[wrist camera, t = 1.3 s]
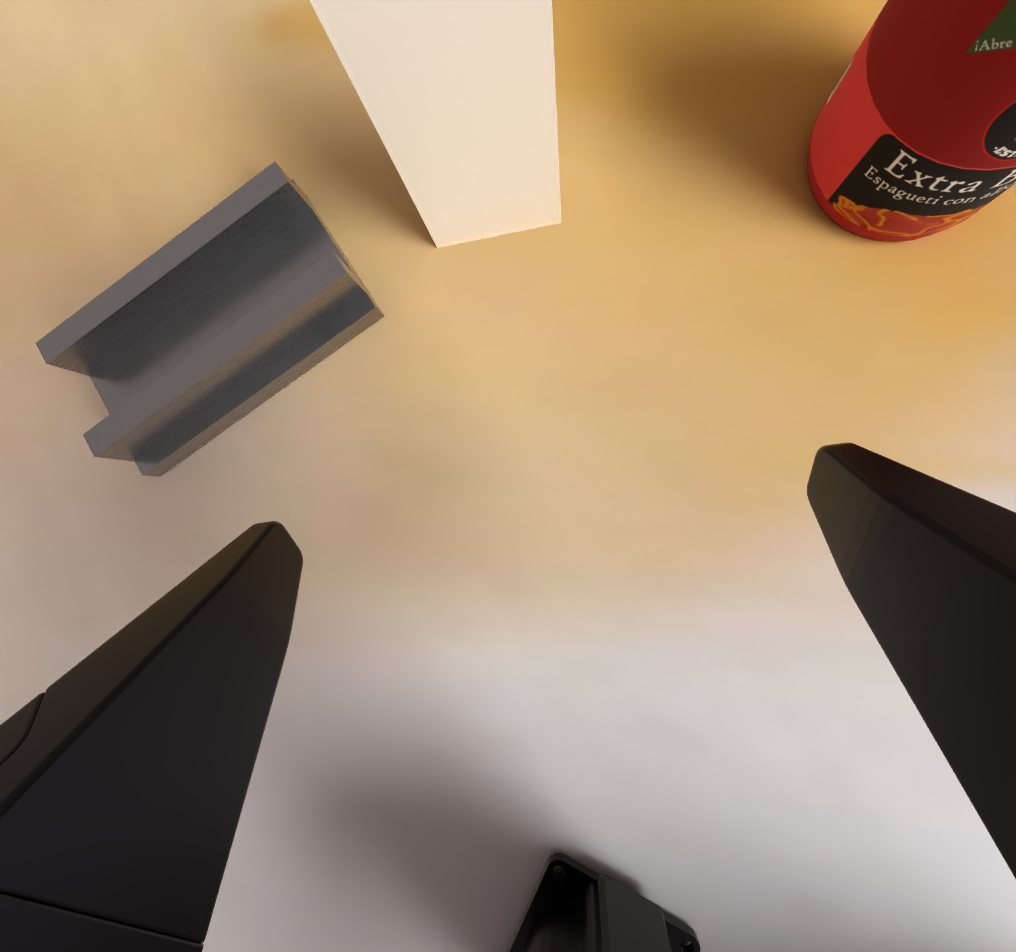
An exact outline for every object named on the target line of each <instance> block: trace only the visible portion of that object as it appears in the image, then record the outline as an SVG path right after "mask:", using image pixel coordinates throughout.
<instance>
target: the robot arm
mask: <svg viewBox="0 0 1016 952" xmlns="http://www.w3.org/2000/svg"><path fill="white" fill-rule="evenodd" d="M807 496H808V499H809V502H810V505H811V507H812V509H813V512H814V514H815V516H816V519H817V521H818V523H819V525H820V528H821V530H822V532H823V535H824V537H825V539H826V542H827V544H828V546H829V549H830V551H831V553H832V556H833V558H834V560H835V563H836V565H837V567H838V570H839V572H840V574H841V576H842V578H843V580H844V582H845V584H846V586H847V588H848V590H849V592H850V594H851V595H852V597H853V599H854V601H855V603H856V604H857V606H858V608H859V609H860V611H861V613H862V615H863V616H864V618H865V620H866V621H867V623H868V625H869V627H870V628H871V630H872V632H873V634H874V635H875V637H876V639H877V640H878V642H879V644H880V646H881V647H882V649H883V651H884V653H885V654H886V656H887V658H888V659H889V661H890V663H891V665H892V666H893V668H894V670H895V672H896V673H897V675H898V677H899V678H900V680H901V682H902V684H903V685H904V687H905V689H906V690H907V692H908V694H909V696H910V697H911V699H912V701H913V703H914V704H915V706H916V708H917V709H918V711H919V713H920V715H921V716H922V718H923V720H924V722H925V723H926V725H927V727H928V728H929V730H930V732H931V734H932V735H933V737H934V739H935V741H936V742H937V744H938V746H939V747H940V749H941V751H942V753H943V754H944V756H945V758H946V759H947V761H948V763H949V765H950V766H951V768H952V770H953V772H954V773H955V775H956V777H957V778H958V780H959V782H960V784H961V785H962V787H963V789H964V791H965V792H966V794H967V796H968V797H969V799H970V801H971V803H972V804H973V806H974V808H975V810H976V811H977V813H978V815H979V816H980V818H981V820H982V822H983V823H984V825H985V827H986V828H987V830H988V832H989V834H990V835H991V837H992V839H993V841H994V842H995V844H996V846H997V847H998V849H999V851H1000V853H1001V854H1002V856H1003V858H1004V860H1005V861H1006V863H1007V865H1008V866H1009V868H1010V870H1011V872H1012V873H1013V875H1014V877H1015V879H1016V513H1015V512H1013V511H1011V510H1008V509H1006V508H1004V507H1001V506H999V505H996V504H994V503H992V502H989V501H987V500H985V499H982V498H980V497H978V496H975V495H973V494H971V493H968V492H966V491H964V490H961V489H959V488H957V487H954V486H952V485H950V484H947V483H945V482H942V481H940V480H938V479H935V478H933V477H931V476H928V475H926V474H924V473H921V472H919V471H917V470H914V469H912V468H910V467H907V466H905V465H903V464H900V463H898V462H896V461H893V460H891V459H888V458H886V457H884V456H881V455H879V454H877V453H874V452H872V451H870V450H867V449H865V448H863V447H860V446H858V445H856V444H853V443H840V444H833V445H825V446H823V447H821V448H820V449H819V450H818V451H817V453H816V456H815V459H814V463H813V466H812V470H811V474H810V477H809V481H808V485H807ZM302 566H303V558H302V553H301V551H300V549H299V548H298V546H297V545H296V543H295V542H294V540H293V539H292V537H291V536H290V534H289V533H288V532H287V530H286V529H285V527H284V526H283V525H282V524H281V523H279V522H276V521H271V522H264V523H258V524H255V525H253V526H251V527H250V528H249V529H247V530H246V531H245V532H244V533H242V534H241V535H240V536H239V537H237V538H236V539H235V540H233V541H232V542H231V543H230V544H228V545H227V546H226V547H225V548H223V549H222V550H221V551H220V552H218V553H217V554H216V555H215V556H213V557H212V558H211V559H210V560H208V561H207V562H206V563H205V564H203V565H202V566H201V567H199V568H198V569H197V570H196V571H194V572H193V573H192V574H191V575H189V576H188V577H187V578H186V579H184V580H183V581H182V582H181V583H179V584H178V585H177V586H176V587H174V588H173V589H172V590H170V591H169V592H168V593H167V594H165V595H164V596H163V597H162V598H160V599H159V600H158V601H157V602H155V603H154V604H153V605H152V606H150V607H149V608H148V609H147V610H145V611H144V612H143V613H141V614H140V615H139V616H138V617H136V618H135V619H134V620H133V621H131V622H130V623H129V624H128V625H126V626H125V627H124V628H123V629H121V630H120V631H119V632H118V633H116V634H115V635H114V636H113V637H111V638H110V639H109V640H107V641H106V642H105V643H104V644H102V645H101V646H100V647H99V648H97V649H96V650H95V651H94V652H92V653H91V654H90V655H89V656H87V657H86V658H85V659H84V660H82V661H81V662H80V663H78V664H77V665H76V666H75V667H73V668H72V669H71V670H70V671H68V672H67V673H66V674H65V675H63V676H62V677H61V678H60V679H58V680H57V681H56V682H55V683H53V684H52V685H51V686H50V687H48V688H47V690H46V692H45V693H41V694H39V695H38V696H37V697H35V698H34V699H33V700H32V701H30V702H29V703H28V704H27V705H25V706H24V707H23V708H22V709H20V710H19V711H18V712H17V713H15V714H14V715H13V716H12V717H10V718H9V719H8V720H6V721H5V722H4V723H2V724H1V725H0V952H202V950H203V942H204V940H205V938H206V934H207V931H208V927H209V924H210V920H211V917H212V913H213V909H214V906H215V902H216V899H217V895H218V892H219V888H220V885H221V881H222V878H223V874H224V871H225V867H226V864H227V860H228V857H229V853H230V849H231V846H232V842H233V839H234V835H235V832H236V828H237V825H238V821H239V818H240V814H241V811H242V807H243V804H244V800H245V797H246V793H247V789H248V786H249V782H250V779H251V775H252V772H253V768H254V765H255V761H256V758H257V754H258V751H259V747H260V744H261V740H262V737H263V733H264V729H265V726H266V722H267V719H268V715H269V712H270V708H271V705H272V701H273V698H274V694H275V691H276V687H277V684H278V680H279V676H280V673H281V669H282V666H283V662H284V659H285V655H286V651H287V648H288V644H289V639H290V634H291V629H292V624H293V618H294V612H295V606H296V601H297V595H298V589H299V583H300V577H301V571H302ZM556 866H561V867H562V868H563V869H564V871H562V872H558V871H556V870H555V869H554V868H555V867H556ZM686 940H687V941H690V942H691V943H690V944H689V945H682V944H681V943H682V942H683V941H686ZM507 952H700V945H699V941H698V938H697V935H696V933H695V931H694V930H693V929H692V928H690V927H689V926H687V925H685V924H684V923H682V922H680V921H679V920H677V919H675V918H673V917H672V916H670V915H668V914H666V913H665V912H663V911H662V910H661V908H660V907H659V906H658V905H656V904H654V903H652V902H651V901H649V900H647V899H645V898H644V897H642V896H640V895H638V894H637V893H635V892H633V891H632V890H630V889H628V888H626V887H625V886H623V885H621V884H619V883H618V882H616V881H614V880H612V879H611V878H609V877H607V876H601V875H599V874H597V873H595V872H594V871H592V870H590V869H588V868H587V867H585V866H583V865H582V864H580V863H578V862H576V861H575V860H573V859H571V858H569V857H568V856H566V855H564V854H561V853H555V854H553V855H551V856H550V858H549V859H548V861H547V863H546V866H545V868H544V870H543V872H542V874H541V877H540V879H539V881H538V883H537V886H536V888H535V890H534V892H533V894H532V897H531V899H530V901H529V903H528V906H527V908H526V910H525V912H524V914H523V917H522V919H521V921H520V923H519V926H518V928H517V930H516V932H515V934H514V937H513V939H512V941H511V943H510V946H509V948H508V950H507Z"/></svg>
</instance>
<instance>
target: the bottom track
mask: <svg viewBox="0 0 1016 952" xmlns="http://www.w3.org/2000/svg"><path fill="white" fill-rule="evenodd" d="M383 316H384V315H383V313H382V312H381V310H380V309H379V307H378V306H377V304H376V303H375V301H374V300H373V298H372V296H371V295H370V293H369V292H368V290H367V289H366V287H365V286H364V284H363V283H362V281H361V280H360V278H359V276H358V275H357V273H356V272H355V270H354V269H353V267H352V266H351V264H350V263H349V261H348V259H347V258H346V256H345V255H344V253H343V252H342V250H341V249H340V247H339V246H338V244H337V243H336V241H335V239H334V238H333V236H332V235H331V233H330V232H329V230H328V229H327V227H326V226H325V224H324V223H323V221H322V219H321V218H320V216H319V215H318V213H317V212H316V210H315V209H314V207H313V206H312V204H311V202H310V201H309V199H308V198H307V196H306V195H305V193H304V192H303V191H302V190H301V188H300V187H299V186H298V185H297V184H296V182H295V181H294V180H293V179H292V180H291V179H290V178H289V177H288V176H287V175H286V174H285V172H284V171H283V170H282V169H281V168H280V167H279V165H278V164H277V163H276V162H274V163H272V164H271V165H270V166H268V167H267V168H266V169H264V170H263V171H262V172H261V173H259V174H258V175H257V176H255V177H254V178H253V179H251V180H250V181H249V182H247V183H246V184H245V185H243V186H242V187H241V188H239V189H238V190H237V191H235V192H234V193H233V194H232V195H230V196H229V197H228V198H226V199H225V200H224V201H222V202H221V203H220V204H218V205H217V206H216V207H214V208H213V209H212V210H210V211H209V212H208V213H207V214H205V215H204V216H203V217H201V218H200V219H199V220H197V221H196V222H195V223H193V224H192V225H191V226H189V227H188V228H187V229H185V230H184V231H183V232H181V233H180V234H179V235H178V236H176V237H175V238H174V239H172V240H171V241H170V242H168V243H167V244H166V245H164V246H163V247H162V248H160V249H159V250H158V251H156V252H155V253H154V254H152V255H151V256H150V257H149V258H147V259H146V260H145V261H143V262H142V263H141V264H139V265H138V266H137V267H135V268H134V269H133V270H131V271H130V272H129V273H127V274H126V275H125V276H124V277H122V278H121V279H120V280H118V281H117V282H116V283H114V284H113V285H112V286H110V287H109V288H108V289H106V290H105V291H104V292H102V293H101V294H100V295H98V296H97V297H96V298H95V299H93V300H92V301H91V302H89V303H88V304H87V305H85V306H84V307H83V308H81V309H80V310H79V311H77V312H76V313H75V314H73V315H72V316H71V317H69V318H68V319H67V320H66V321H64V322H63V323H62V324H60V325H59V326H58V327H56V328H55V329H54V330H52V331H51V332H50V333H48V334H47V335H46V336H44V337H43V338H42V339H41V340H39V341H38V342H37V343H36V345H37V347H38V348H39V350H40V352H41V354H42V356H43V358H44V360H45V362H46V364H49V365H53V366H56V367H60V368H63V369H67V370H71V371H74V372H78V373H81V374H85V375H88V376H90V377H91V379H92V381H93V383H94V385H95V387H96V389H97V390H98V392H99V394H100V396H101V398H102V400H103V402H104V404H105V406H106V407H107V409H108V411H109V413H110V415H109V416H108V417H106V418H105V419H104V420H102V421H101V422H100V423H98V424H97V425H95V426H94V427H93V428H91V429H90V430H89V431H87V432H86V433H85V434H83V436H84V437H85V439H86V441H87V443H88V445H89V447H90V449H91V451H92V453H93V455H94V457H102V458H111V459H120V460H128V461H135V462H136V464H137V466H138V468H139V470H140V472H141V473H142V475H150V476H161V475H162V474H164V473H165V472H167V471H168V470H169V469H171V468H172V467H174V466H175V465H176V464H178V463H179V462H181V461H182V460H183V459H185V458H186V457H188V456H189V455H190V454H192V453H193V452H195V451H196V450H197V449H199V448H200V447H202V446H203V445H204V444H206V443H207V442H209V441H210V440H211V439H213V438H214V437H216V436H217V435H218V434H220V433H221V432H223V431H224V430H225V429H227V428H228V427H230V426H231V425H232V424H234V423H235V422H237V421H238V420H239V419H241V418H242V417H244V416H245V415H246V414H248V413H249V412H251V411H252V410H253V409H255V408H256V407H258V406H259V405H260V404H262V403H263V402H265V401H266V400H267V399H269V398H270V397H272V396H273V395H274V394H276V393H277V392H279V391H280V390H281V389H283V388H284V387H286V386H287V385H288V384H290V383H291V382H293V381H294V380H295V379H297V378H298V377H300V376H301V375H302V374H304V373H305V372H307V371H308V370H309V369H311V368H312V367H314V366H315V365H316V364H318V363H319V362H321V361H322V360H323V359H325V358H326V357H328V356H329V355H330V354H332V353H333V352H334V351H336V350H337V349H339V348H340V347H341V346H343V345H344V344H346V343H347V342H348V341H350V340H351V339H353V338H354V337H355V336H357V335H358V334H360V333H361V332H362V331H364V330H365V329H367V328H368V327H369V326H371V325H372V324H374V323H375V322H376V321H378V320H379V319H381V318H382V317H383Z"/></svg>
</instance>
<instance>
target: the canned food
mask: <svg viewBox="0 0 1016 952" xmlns="http://www.w3.org/2000/svg"><path fill="white" fill-rule="evenodd" d="M807 165H808V178H809V181H810V185H811V188H812V192H813V193H814V195H815V197H816V199H817V201H818V203H819V205H820V206H821V207H822V209H823V210H824V211H825V212H826V213H827V214H828V216H829V217H830V218H831V219H833V220H834V221H835V222H836V223H838V224H839V225H840V226H842V227H843V228H844V229H847V230H849V231H851V232H853V233H855V234H857V235H859V236H862V237H866V238H869V239H873V240H878V241H891V242H897V241H907V240H914V239H918V238H921V237H925V236H928V235H932V234H934V233H937V232H940V231H943V230H945V229H948V228H950V227H952V226H954V225H956V224H958V223H960V222H962V221H964V220H966V219H968V218H969V217H970V216H972V215H973V214H974V213H976V212H977V211H979V210H980V209H981V208H983V207H984V206H985V205H987V204H988V203H989V202H991V201H992V200H993V199H995V198H996V197H997V196H999V195H1000V194H1002V193H1003V192H1004V191H1006V190H1007V189H1008V188H1010V187H1011V186H1012V185H1014V184H1015V183H1016V0H888V1H887V3H886V4H885V6H884V8H883V9H882V11H881V13H880V14H879V16H878V18H877V19H876V21H875V22H874V24H873V26H872V27H871V29H870V31H869V32H868V34H867V36H866V37H865V39H864V40H863V42H862V44H861V45H860V47H859V49H858V50H857V52H856V54H855V55H854V57H853V59H852V60H851V62H850V63H849V65H848V67H847V68H846V70H845V72H844V73H843V75H842V77H841V78H840V80H839V81H838V83H837V85H836V86H835V88H834V90H833V91H832V93H831V95H830V96H829V98H828V100H827V101H826V103H825V104H824V106H823V108H822V109H821V111H820V113H819V115H818V118H817V121H816V123H815V126H814V129H813V133H812V137H811V141H810V146H809V152H808V159H807Z"/></svg>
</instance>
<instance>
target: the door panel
mask: <svg viewBox="0 0 1016 952" xmlns="http://www.w3.org/2000/svg"><path fill="white" fill-rule="evenodd" d="M310 2H311V4H312V6H313V8H314V10H315V12H316V14H317V16H318V18H319V20H320V22H321V24H322V26H323V27H324V29H325V31H326V33H327V35H328V37H329V39H330V41H331V43H332V45H333V47H334V49H335V51H336V53H337V55H338V57H339V58H340V60H341V62H342V64H343V66H344V68H345V70H346V72H347V74H348V76H349V78H350V80H351V82H352V84H353V86H354V88H355V89H356V91H357V93H358V95H359V97H360V99H361V101H362V103H363V105H364V107H365V109H366V111H367V113H368V115H369V117H370V119H371V120H372V122H373V124H374V126H375V128H376V130H377V132H378V134H379V136H380V138H381V140H382V142H383V144H384V146H385V148H386V149H387V151H388V153H389V155H390V157H391V159H392V161H393V163H394V165H395V167H396V169H397V171H398V173H399V175H400V177H401V179H402V180H403V182H404V184H405V186H406V188H407V190H408V192H409V194H410V196H411V198H412V200H413V202H414V204H415V206H416V208H417V210H418V211H419V213H420V215H421V217H422V219H423V221H424V223H425V225H426V227H427V229H428V231H429V233H430V235H431V237H432V239H433V241H434V242H435V244H436V246H437V248H440V247H445V246H450V245H455V244H460V243H465V242H470V241H475V240H480V239H485V238H490V237H495V236H499V235H504V234H509V233H514V232H519V231H524V230H529V229H534V228H539V227H544V226H549V225H554V224H559V223H561V205H560V182H559V158H558V135H557V112H556V88H555V65H554V41H553V18H552V0H310Z"/></svg>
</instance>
